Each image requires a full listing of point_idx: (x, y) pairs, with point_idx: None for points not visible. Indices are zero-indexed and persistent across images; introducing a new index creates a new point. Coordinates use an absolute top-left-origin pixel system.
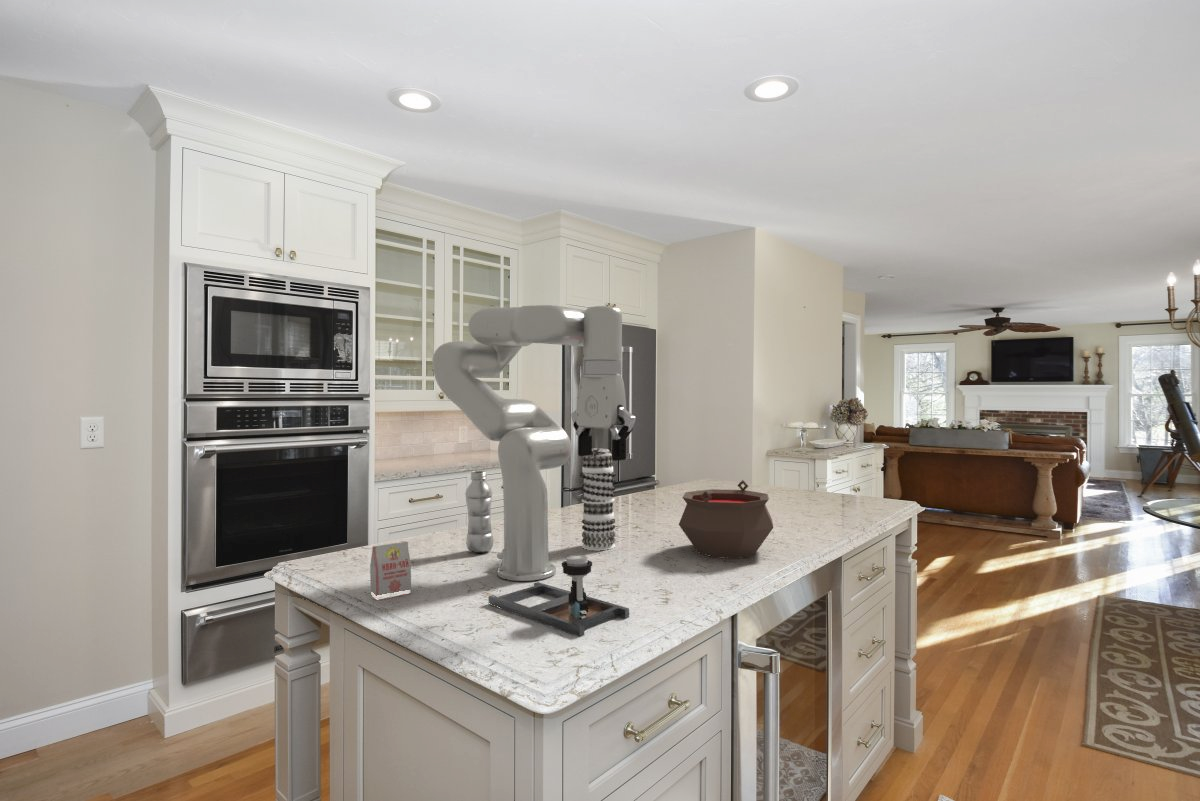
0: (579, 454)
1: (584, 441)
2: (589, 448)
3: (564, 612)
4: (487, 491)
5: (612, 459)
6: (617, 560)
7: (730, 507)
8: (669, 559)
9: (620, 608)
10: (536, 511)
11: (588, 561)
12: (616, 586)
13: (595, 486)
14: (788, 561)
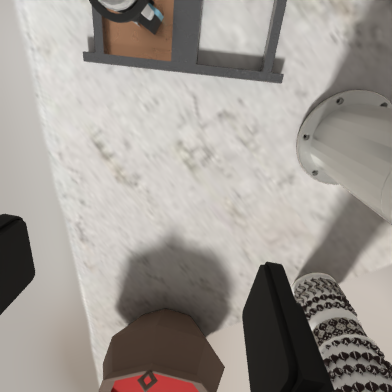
0: (270, 263)
1: (270, 354)
2: (250, 333)
3: (166, 6)
4: None
5: (13, 215)
6: (255, 253)
7: (123, 371)
8: (202, 283)
9: (91, 52)
10: (380, 159)
11: (108, 13)
12: (188, 163)
13: (356, 370)
14: (97, 325)
